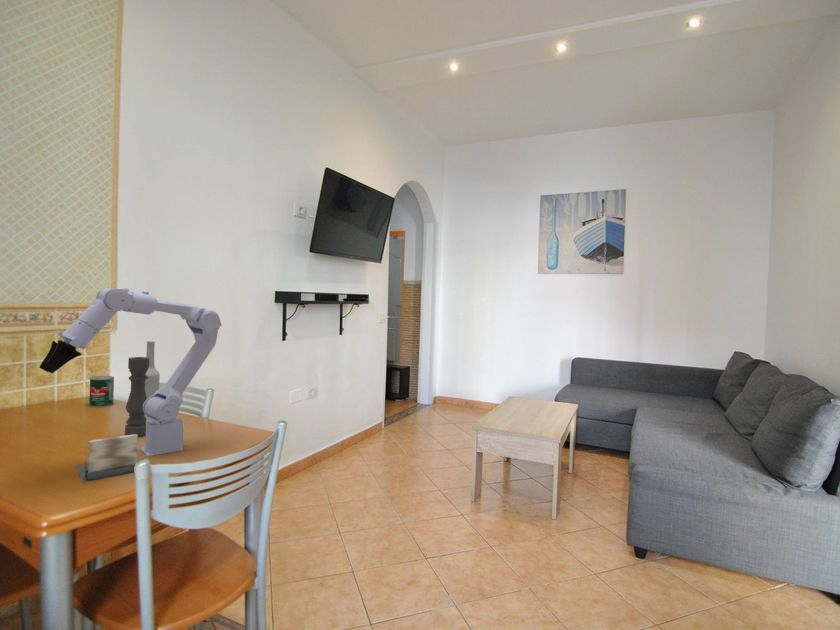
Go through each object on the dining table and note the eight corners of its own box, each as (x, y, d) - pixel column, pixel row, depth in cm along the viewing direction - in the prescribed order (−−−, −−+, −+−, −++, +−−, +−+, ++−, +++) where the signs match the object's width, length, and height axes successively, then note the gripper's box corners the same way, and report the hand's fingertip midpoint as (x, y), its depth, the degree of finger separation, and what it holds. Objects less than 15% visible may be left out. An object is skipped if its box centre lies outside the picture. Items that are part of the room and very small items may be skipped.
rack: (133, 457, 126) (133, 450, 126) (144, 472, 117) (145, 464, 117) (75, 467, 117) (75, 459, 117) (82, 484, 108) (82, 475, 108)
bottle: (133, 418, 163) (135, 341, 162) (149, 414, 169) (152, 340, 169) (146, 420, 161) (149, 342, 160) (162, 416, 167) (165, 341, 167)
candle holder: (136, 439, 141) (139, 360, 140) (119, 437, 142) (122, 358, 141) (152, 434, 147) (155, 357, 146) (135, 431, 148) (138, 356, 148)
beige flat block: (135, 467, 118) (136, 433, 118) (136, 469, 117) (137, 435, 117) (88, 476, 111) (89, 440, 111) (89, 478, 110) (90, 442, 110)
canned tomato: (112, 402, 184) (113, 375, 184) (114, 406, 178) (115, 378, 178) (88, 404, 179) (89, 376, 179) (89, 408, 173) (90, 379, 173)
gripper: (67, 317, 119) (25, 360, 113) (77, 315, 109) (31, 361, 102) (93, 333, 123) (53, 375, 116) (105, 332, 113) (62, 378, 106)
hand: (45, 370), depth 110 cm, fingers open, 7 cm apart
